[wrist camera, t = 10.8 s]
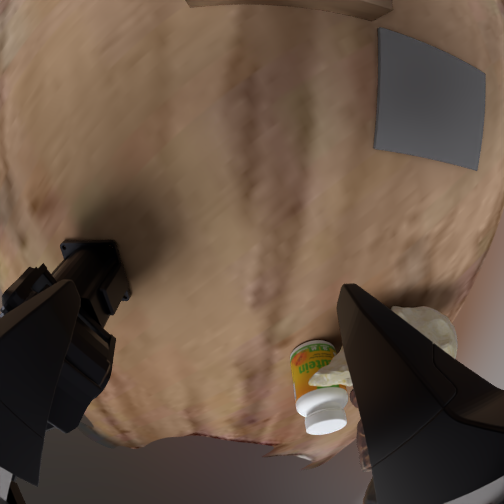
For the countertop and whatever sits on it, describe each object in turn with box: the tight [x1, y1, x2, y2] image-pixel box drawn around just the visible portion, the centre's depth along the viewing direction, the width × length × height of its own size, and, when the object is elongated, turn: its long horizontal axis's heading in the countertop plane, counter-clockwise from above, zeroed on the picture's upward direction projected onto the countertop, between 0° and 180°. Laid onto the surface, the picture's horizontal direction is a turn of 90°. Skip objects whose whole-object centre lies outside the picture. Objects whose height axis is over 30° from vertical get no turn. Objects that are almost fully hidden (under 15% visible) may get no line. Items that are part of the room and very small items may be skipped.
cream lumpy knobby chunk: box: [308, 306, 457, 386], centre depth 25 cm, size 15×7×15 cm
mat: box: [373, 27, 486, 171], centre depth 15 cm, size 12×10×1 cm
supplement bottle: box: [290, 340, 348, 435], centre depth 25 cm, size 5×5×10 cm
